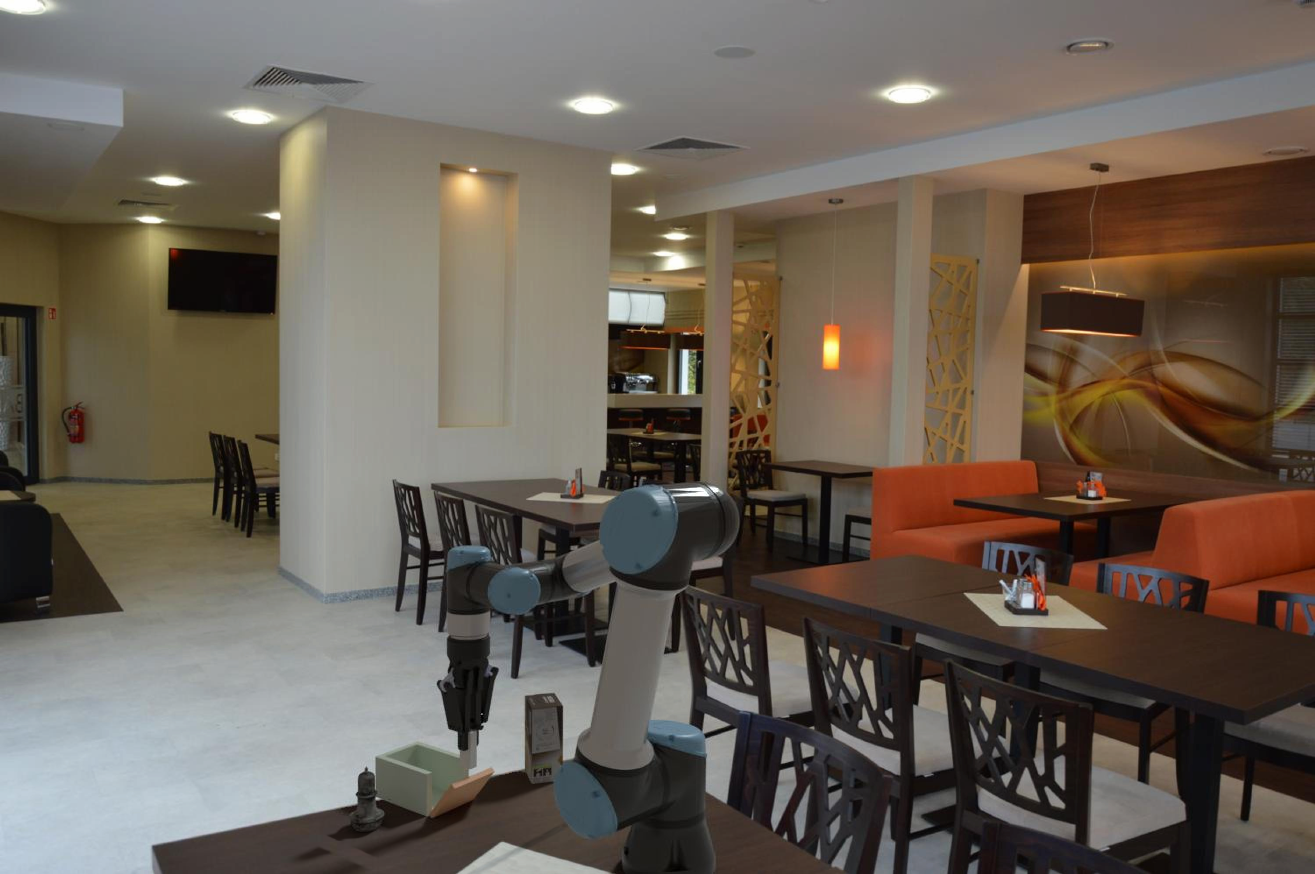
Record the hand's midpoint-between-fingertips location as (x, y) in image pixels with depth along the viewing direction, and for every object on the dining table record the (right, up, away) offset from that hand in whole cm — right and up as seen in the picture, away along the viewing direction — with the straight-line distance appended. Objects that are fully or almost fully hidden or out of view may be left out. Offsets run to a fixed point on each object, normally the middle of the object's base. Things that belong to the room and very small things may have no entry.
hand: (468, 766), depth 176 cm
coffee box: (+11, -10, +20) cm, 24 cm away
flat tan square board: (-4, -8, +3) cm, 10 cm away
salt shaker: (-17, -10, -5) cm, 20 cm away
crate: (-10, -10, +8) cm, 16 cm away
